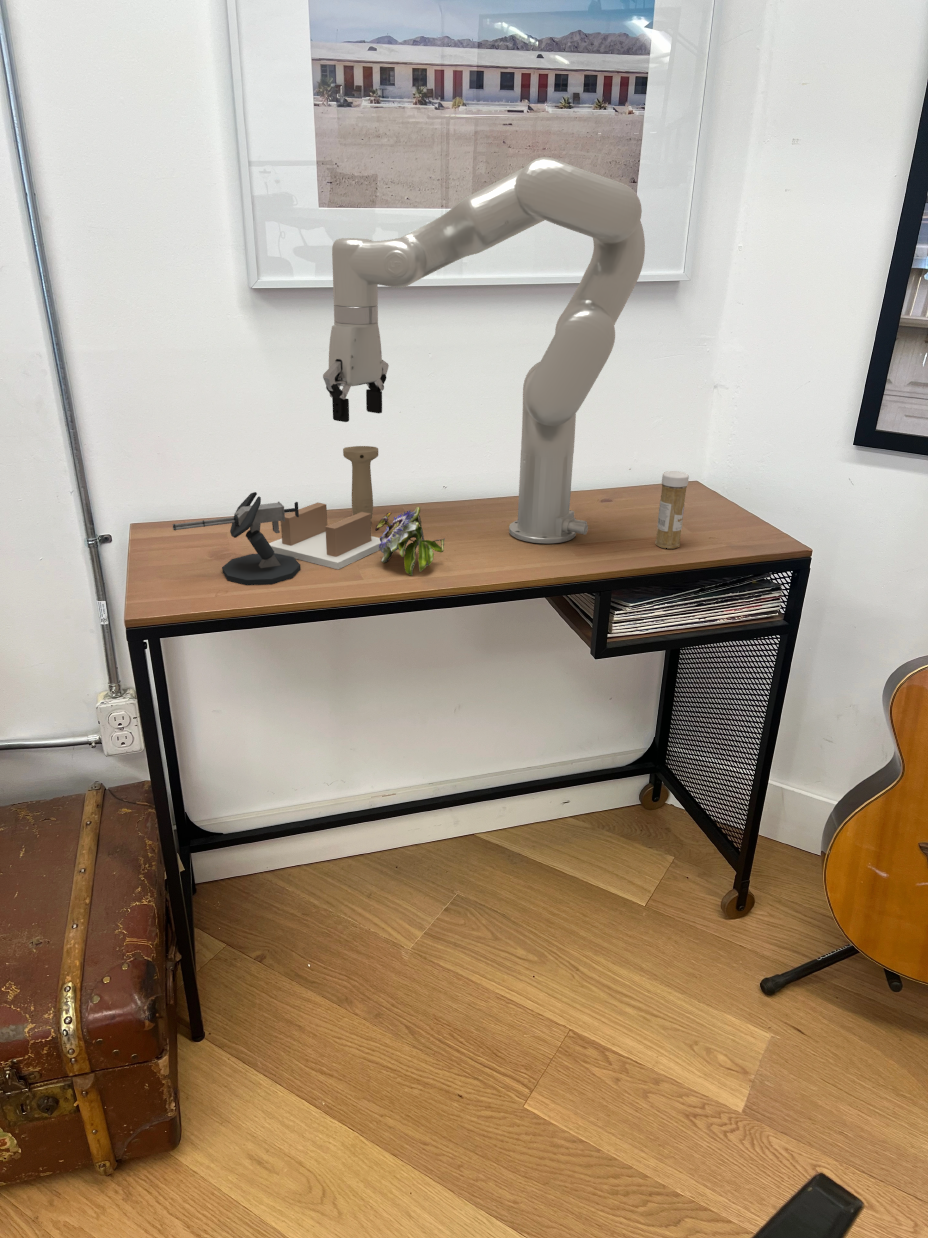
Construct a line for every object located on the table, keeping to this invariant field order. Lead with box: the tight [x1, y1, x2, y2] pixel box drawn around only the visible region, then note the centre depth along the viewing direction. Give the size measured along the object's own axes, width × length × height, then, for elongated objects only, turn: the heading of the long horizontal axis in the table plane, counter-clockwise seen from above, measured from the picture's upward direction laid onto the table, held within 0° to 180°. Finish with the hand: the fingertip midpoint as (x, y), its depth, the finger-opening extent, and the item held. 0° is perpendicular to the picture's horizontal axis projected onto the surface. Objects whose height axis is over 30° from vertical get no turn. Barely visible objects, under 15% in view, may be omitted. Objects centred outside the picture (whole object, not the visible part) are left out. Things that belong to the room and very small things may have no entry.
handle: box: [342, 445, 379, 526], centre depth 163 cm, size 5×6×15 cm
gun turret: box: [172, 491, 302, 586], centre depth 140 cm, size 13×20×13 cm, turn 116°
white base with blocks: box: [268, 502, 381, 570], centre depth 153 cm, size 16×14×6 cm
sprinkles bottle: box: [654, 470, 690, 550], centre depth 157 cm, size 5×5×14 cm
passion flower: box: [374, 506, 446, 577], centre depth 147 cm, size 11×11×12 cm
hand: (358, 416), depth 157 cm, fingers open, 9 cm apart
